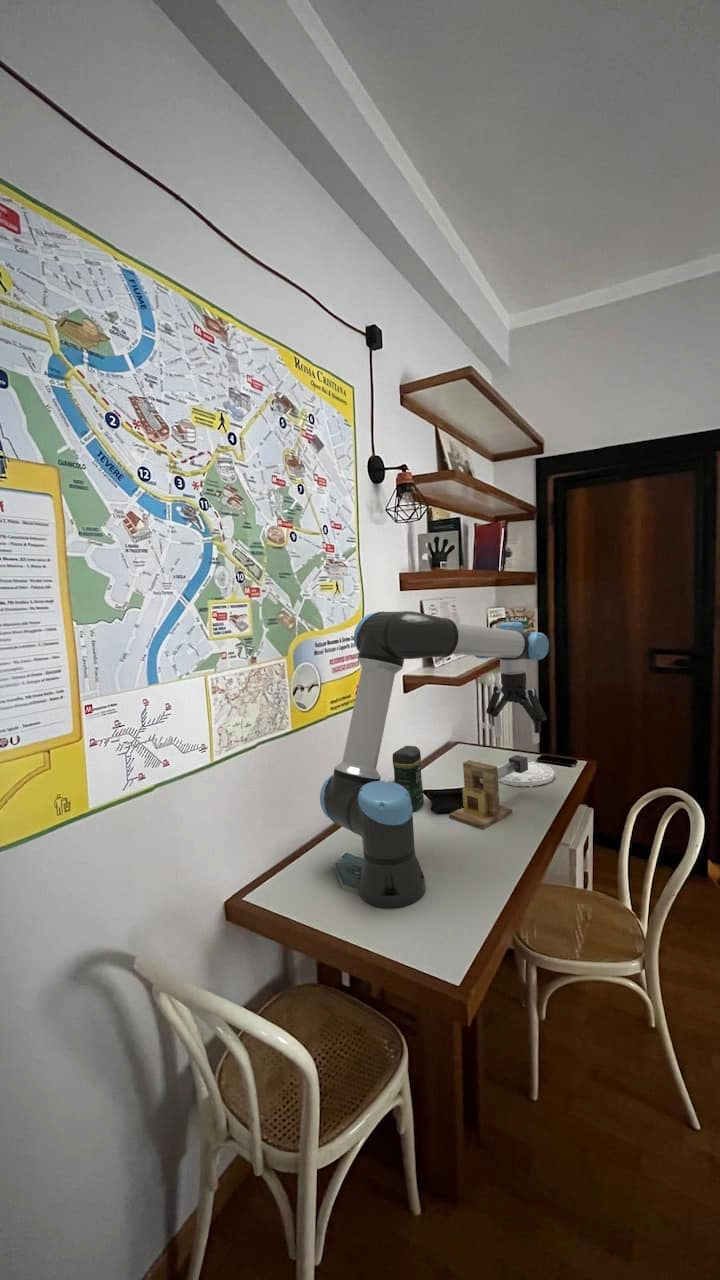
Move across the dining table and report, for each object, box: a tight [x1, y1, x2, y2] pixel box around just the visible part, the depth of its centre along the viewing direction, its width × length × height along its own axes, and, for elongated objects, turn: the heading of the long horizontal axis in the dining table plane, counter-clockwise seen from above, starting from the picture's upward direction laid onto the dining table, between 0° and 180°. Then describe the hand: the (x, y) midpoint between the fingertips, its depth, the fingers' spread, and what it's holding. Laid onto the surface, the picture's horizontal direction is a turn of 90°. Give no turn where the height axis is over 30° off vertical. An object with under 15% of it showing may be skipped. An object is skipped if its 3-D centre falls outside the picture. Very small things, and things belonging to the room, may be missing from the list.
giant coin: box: [497, 761, 556, 788], centre depth 185 cm, size 20×20×3 cm
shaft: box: [477, 754, 529, 787], centre depth 163 cm, size 21×4×4 cm, turn 130°
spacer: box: [461, 787, 489, 819], centre depth 155 cm, size 2×7×7 cm, turn 40°
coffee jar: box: [392, 745, 425, 812], centre depth 167 cm, size 10×8×19 cm
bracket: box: [448, 759, 513, 830], centre depth 156 cm, size 14×12×15 cm
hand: (516, 739), depth 168 cm, fingers open, 13 cm apart
